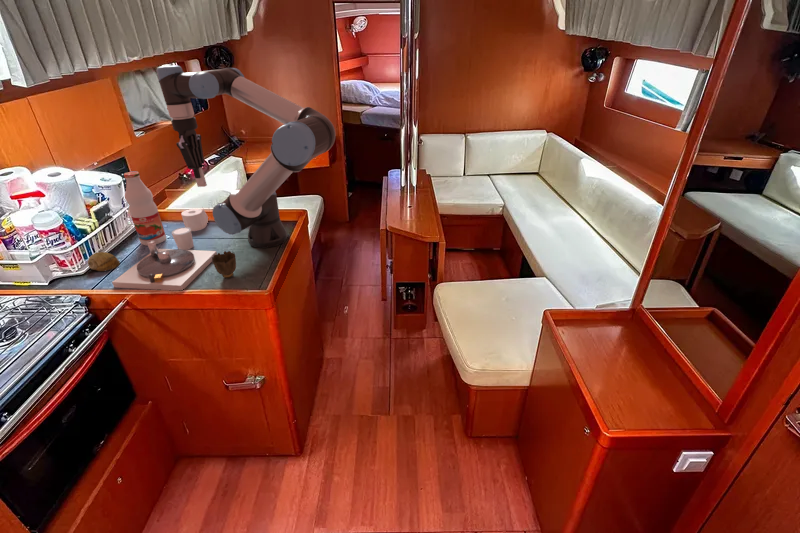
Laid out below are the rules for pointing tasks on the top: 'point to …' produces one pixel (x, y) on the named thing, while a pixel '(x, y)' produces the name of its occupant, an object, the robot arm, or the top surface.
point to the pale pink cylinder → (183, 238)
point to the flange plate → (169, 267)
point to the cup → (225, 263)
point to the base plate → (168, 283)
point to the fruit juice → (143, 210)
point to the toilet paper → (195, 219)
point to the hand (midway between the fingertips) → (202, 185)
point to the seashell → (103, 261)
